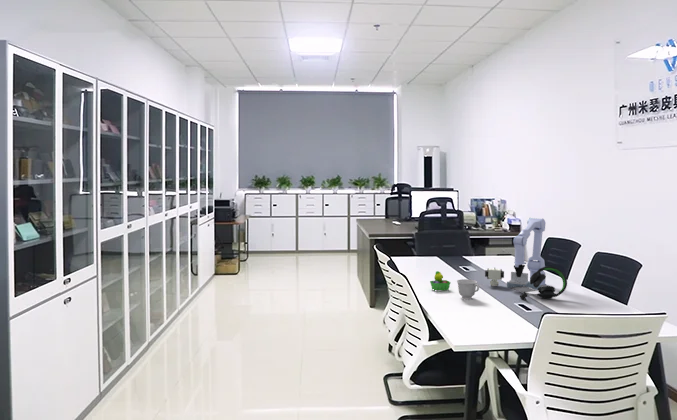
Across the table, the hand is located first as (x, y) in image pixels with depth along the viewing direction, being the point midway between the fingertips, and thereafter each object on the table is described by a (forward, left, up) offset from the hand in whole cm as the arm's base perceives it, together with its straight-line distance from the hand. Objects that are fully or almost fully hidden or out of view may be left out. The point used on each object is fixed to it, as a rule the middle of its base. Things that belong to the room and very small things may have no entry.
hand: (519, 276), depth 304 cm
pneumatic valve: (+6, -17, -9) cm, 20 cm away
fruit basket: (+45, -20, -9) cm, 50 cm away
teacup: (+41, +6, -9) cm, 42 cm away
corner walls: (-6, -3, -9) cm, 11 cm away
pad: (-5, -2, -9) cm, 10 cm away
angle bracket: (+2, +1, -4) cm, 4 cm away
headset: (0, +21, -9) cm, 23 cm away
